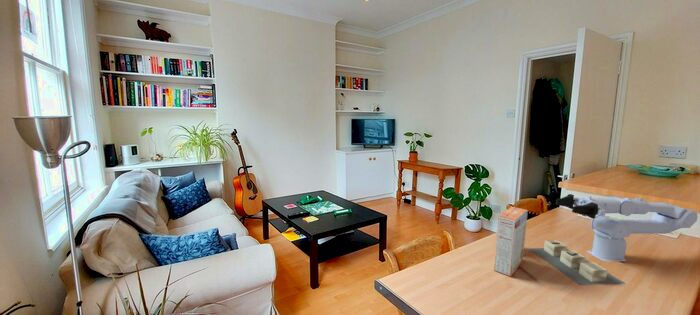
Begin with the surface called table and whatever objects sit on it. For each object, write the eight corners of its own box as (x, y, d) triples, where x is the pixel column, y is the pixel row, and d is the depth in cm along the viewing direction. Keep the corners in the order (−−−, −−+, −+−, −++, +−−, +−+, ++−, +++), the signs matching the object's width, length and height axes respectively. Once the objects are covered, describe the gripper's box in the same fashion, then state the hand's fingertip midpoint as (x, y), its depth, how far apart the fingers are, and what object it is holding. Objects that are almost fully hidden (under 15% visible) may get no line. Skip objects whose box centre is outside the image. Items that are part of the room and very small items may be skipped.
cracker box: (505, 257, 113) (511, 205, 110) (523, 262, 109) (529, 209, 106) (492, 270, 104) (497, 214, 100) (510, 277, 99) (517, 219, 96)
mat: (565, 248, 120) (565, 247, 120) (625, 285, 96) (625, 283, 95) (528, 249, 119) (528, 248, 119) (579, 286, 95) (579, 284, 94)
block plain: (592, 272, 102) (594, 262, 101) (605, 281, 97) (607, 270, 96) (578, 273, 101) (580, 262, 101) (591, 281, 96) (593, 270, 96)
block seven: (572, 260, 110) (574, 250, 109) (583, 267, 105) (585, 256, 104) (559, 260, 110) (561, 250, 109) (570, 267, 105) (572, 257, 104)
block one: (555, 249, 118) (556, 239, 118) (565, 255, 113) (566, 245, 113) (543, 249, 118) (544, 240, 117) (552, 256, 113) (554, 246, 112)
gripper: (583, 189, 116) (551, 189, 115) (619, 202, 102) (583, 202, 101) (579, 206, 118) (548, 206, 116) (614, 221, 104) (579, 221, 102)
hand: (564, 205), depth 109 cm, fingers open, 7 cm apart
